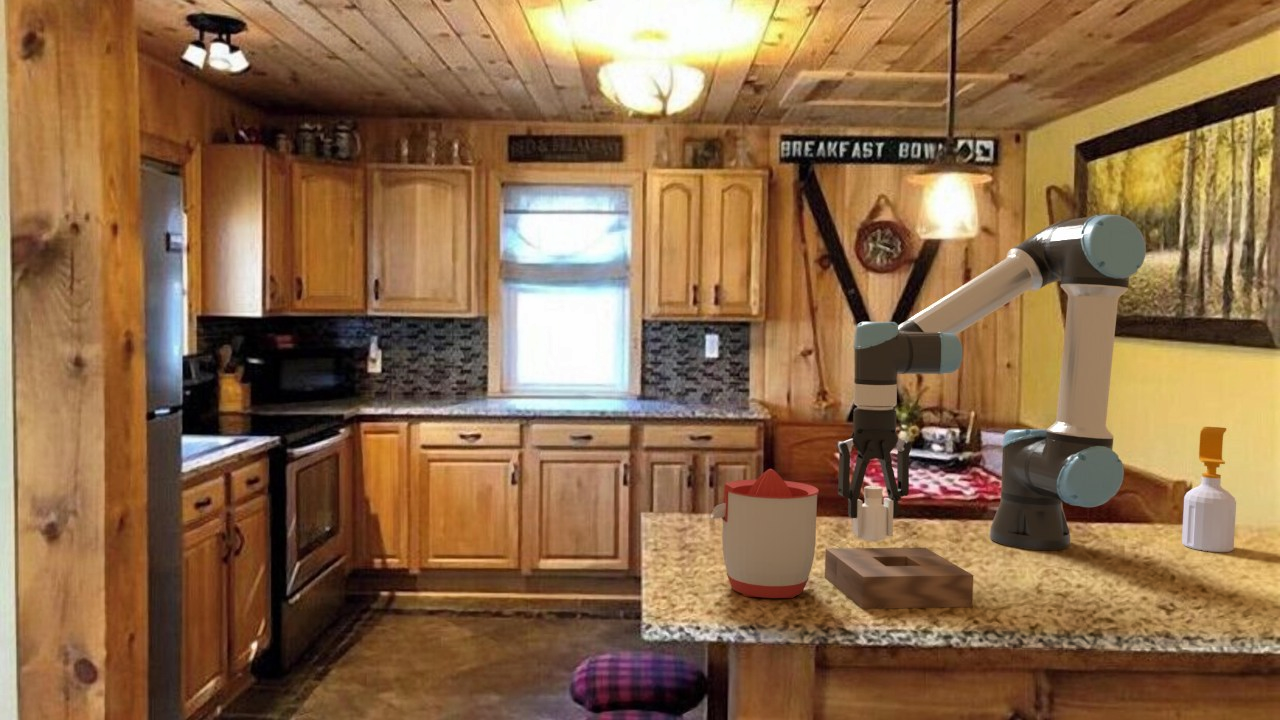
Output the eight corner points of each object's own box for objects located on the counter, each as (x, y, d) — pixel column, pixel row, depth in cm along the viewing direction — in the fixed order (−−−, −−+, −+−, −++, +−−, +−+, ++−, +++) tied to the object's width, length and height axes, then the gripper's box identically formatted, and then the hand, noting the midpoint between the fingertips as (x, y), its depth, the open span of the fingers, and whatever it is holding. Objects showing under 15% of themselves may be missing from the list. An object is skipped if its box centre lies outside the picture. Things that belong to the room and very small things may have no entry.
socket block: (924, 575, 175) (925, 547, 175) (972, 606, 157) (973, 575, 157) (824, 577, 173) (825, 548, 172) (862, 608, 155) (863, 576, 155)
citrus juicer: (706, 575, 172) (709, 459, 171) (808, 578, 171) (812, 462, 170) (710, 602, 156) (713, 475, 155) (822, 606, 156) (826, 478, 155)
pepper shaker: (869, 535, 185) (869, 484, 184) (888, 539, 182) (889, 487, 181) (856, 539, 182) (857, 487, 181) (876, 543, 179) (876, 490, 179)
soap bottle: (1185, 549, 200) (1191, 427, 199) (1179, 540, 208) (1185, 422, 207) (1236, 555, 196) (1243, 430, 195) (1229, 545, 205) (1235, 425, 204)
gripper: (914, 404, 185) (911, 529, 187) (819, 405, 183) (817, 531, 184) (931, 408, 178) (928, 538, 179) (833, 410, 176) (831, 541, 177)
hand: (872, 534), depth 182 cm, fingers closed on pepper shaker, 5 cm apart
